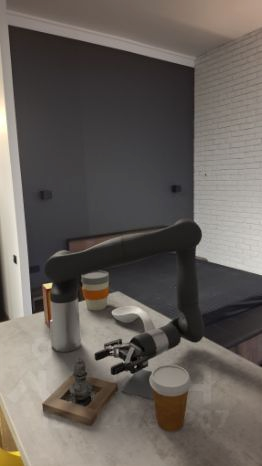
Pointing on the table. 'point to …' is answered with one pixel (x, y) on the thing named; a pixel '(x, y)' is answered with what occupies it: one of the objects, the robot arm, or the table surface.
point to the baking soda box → (47, 302)
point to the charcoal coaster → (140, 385)
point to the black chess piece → (80, 385)
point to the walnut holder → (78, 412)
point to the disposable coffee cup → (170, 395)
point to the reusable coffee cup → (95, 289)
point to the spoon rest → (133, 316)
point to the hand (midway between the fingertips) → (103, 364)
